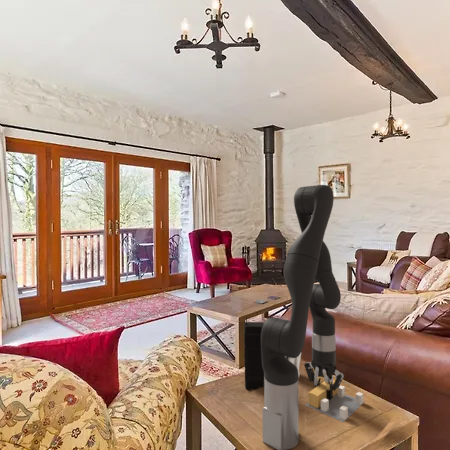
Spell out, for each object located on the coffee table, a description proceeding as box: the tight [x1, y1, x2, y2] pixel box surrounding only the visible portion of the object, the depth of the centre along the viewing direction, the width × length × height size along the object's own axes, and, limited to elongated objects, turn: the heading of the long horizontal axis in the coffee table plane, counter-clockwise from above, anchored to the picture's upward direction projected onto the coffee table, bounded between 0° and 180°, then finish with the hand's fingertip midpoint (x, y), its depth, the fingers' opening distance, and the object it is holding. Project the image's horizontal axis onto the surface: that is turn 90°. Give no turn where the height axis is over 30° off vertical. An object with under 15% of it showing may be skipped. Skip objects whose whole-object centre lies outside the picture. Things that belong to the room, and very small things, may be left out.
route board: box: [304, 384, 365, 423], centre depth 112 cm, size 15×13×4 cm
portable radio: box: [243, 316, 265, 390], centre depth 126 cm, size 8×6×25 cm
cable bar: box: [308, 379, 338, 408], centre depth 115 cm, size 13×3×4 cm, turn 135°
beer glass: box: [285, 352, 302, 378], centre depth 132 cm, size 7×7×15 cm
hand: (323, 397), depth 115 cm, fingers closed on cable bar, 3 cm apart
